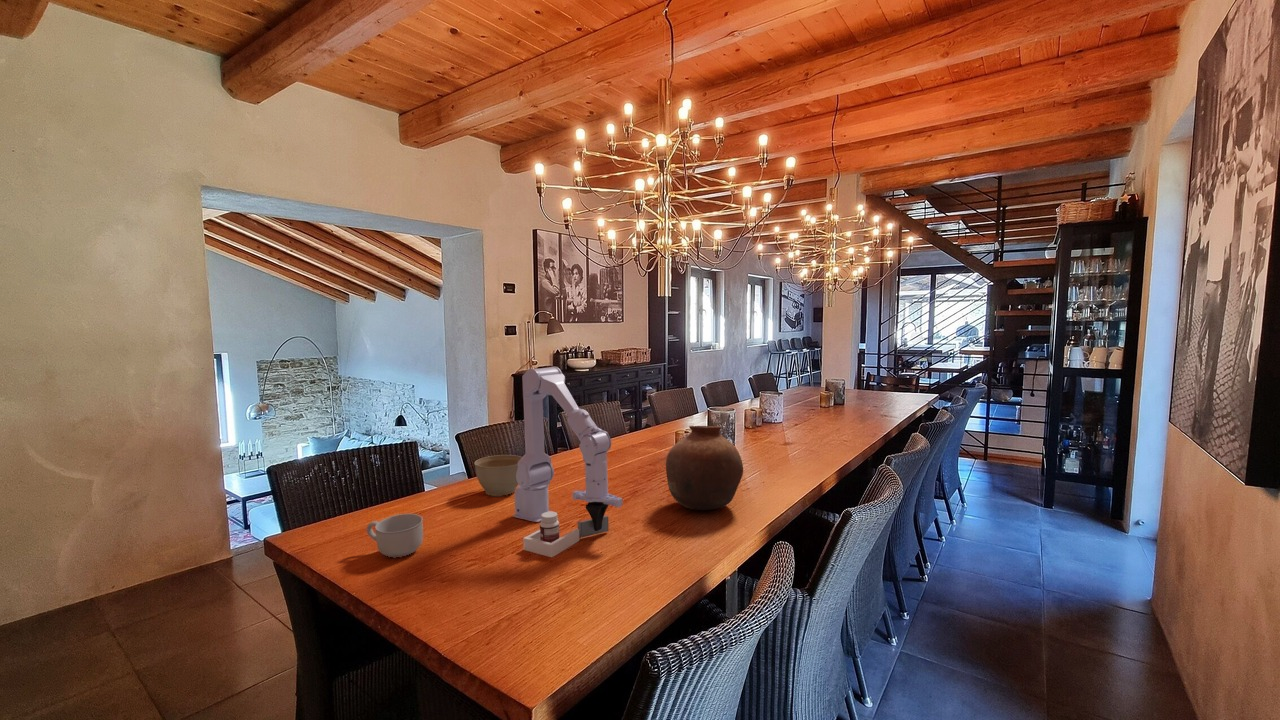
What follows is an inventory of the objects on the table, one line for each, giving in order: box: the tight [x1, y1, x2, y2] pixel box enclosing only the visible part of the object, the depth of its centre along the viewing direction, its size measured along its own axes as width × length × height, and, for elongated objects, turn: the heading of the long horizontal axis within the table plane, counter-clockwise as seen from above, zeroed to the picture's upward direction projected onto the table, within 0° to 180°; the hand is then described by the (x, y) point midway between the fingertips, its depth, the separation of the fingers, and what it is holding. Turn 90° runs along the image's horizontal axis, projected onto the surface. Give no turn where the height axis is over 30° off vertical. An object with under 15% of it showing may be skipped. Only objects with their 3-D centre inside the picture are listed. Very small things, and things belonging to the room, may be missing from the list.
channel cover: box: [577, 515, 610, 540], centre depth 139 cm, size 9×1×4 cm, turn 121°
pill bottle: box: [539, 511, 560, 543], centre depth 132 cm, size 5×5×8 cm
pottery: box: [665, 425, 744, 511], centre depth 159 cm, size 23×23×25 cm
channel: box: [522, 528, 580, 558], centre depth 133 cm, size 9×11×3 cm
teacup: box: [366, 513, 424, 559], centre depth 131 cm, size 14×11×8 cm
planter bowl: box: [474, 454, 523, 497], centre depth 175 cm, size 16×16×11 cm
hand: (597, 529), depth 138 cm, fingers closed
